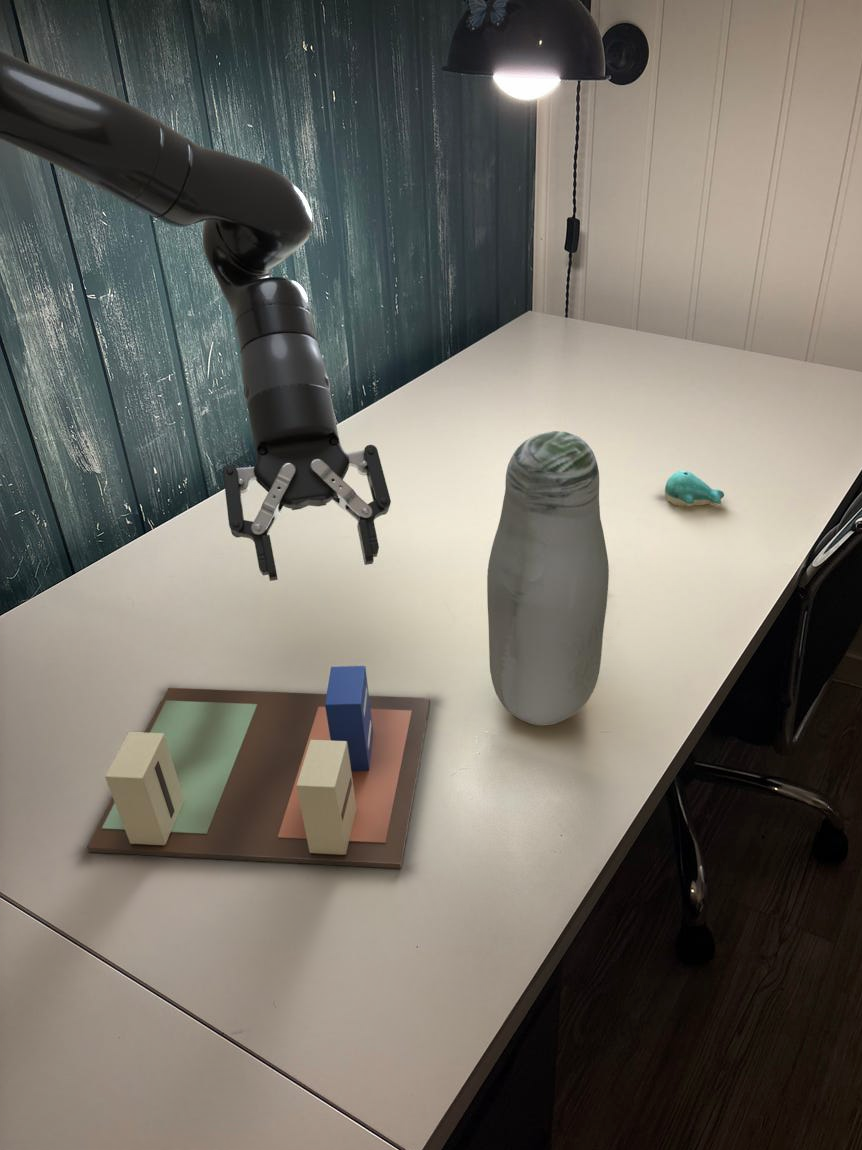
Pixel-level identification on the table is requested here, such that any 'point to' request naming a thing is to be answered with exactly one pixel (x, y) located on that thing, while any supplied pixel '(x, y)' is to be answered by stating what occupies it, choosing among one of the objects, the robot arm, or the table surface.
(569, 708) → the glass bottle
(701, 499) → the whale figurine
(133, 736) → the tile
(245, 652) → the table surface
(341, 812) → the tile
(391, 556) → the table surface
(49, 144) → the robot arm
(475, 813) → the table surface
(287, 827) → the brown flat rectangular board
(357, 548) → the table surface
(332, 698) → the blue rectangular block
